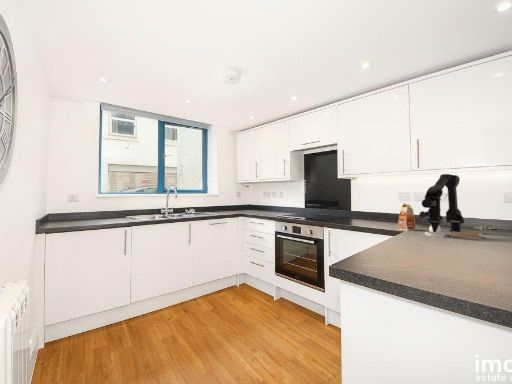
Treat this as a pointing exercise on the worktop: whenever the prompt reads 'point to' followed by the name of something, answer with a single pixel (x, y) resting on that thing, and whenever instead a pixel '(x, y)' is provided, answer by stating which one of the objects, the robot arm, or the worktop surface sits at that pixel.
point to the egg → (436, 230)
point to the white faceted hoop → (435, 234)
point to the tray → (466, 235)
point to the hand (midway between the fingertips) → (435, 231)
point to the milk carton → (406, 218)
